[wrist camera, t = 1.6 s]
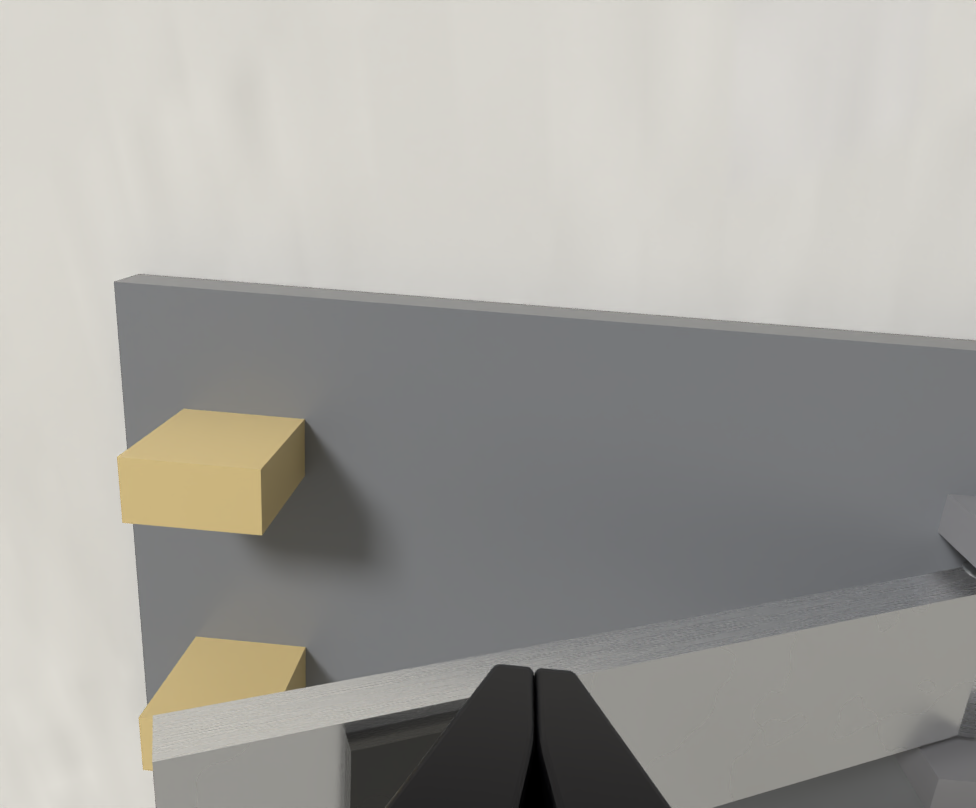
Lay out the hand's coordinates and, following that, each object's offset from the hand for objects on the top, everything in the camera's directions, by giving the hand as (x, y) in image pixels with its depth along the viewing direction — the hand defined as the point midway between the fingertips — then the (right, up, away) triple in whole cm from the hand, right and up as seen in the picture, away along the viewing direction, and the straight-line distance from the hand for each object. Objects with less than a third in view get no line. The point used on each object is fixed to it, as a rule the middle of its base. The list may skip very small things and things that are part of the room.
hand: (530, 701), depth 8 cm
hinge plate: (+2, -1, +13) cm, 13 cm away
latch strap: (+3, -3, +8) cm, 9 cm away
